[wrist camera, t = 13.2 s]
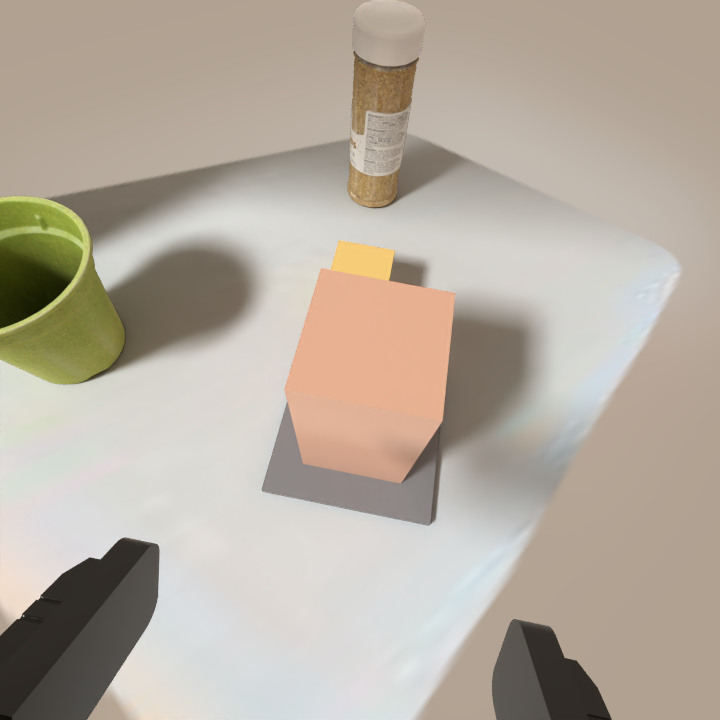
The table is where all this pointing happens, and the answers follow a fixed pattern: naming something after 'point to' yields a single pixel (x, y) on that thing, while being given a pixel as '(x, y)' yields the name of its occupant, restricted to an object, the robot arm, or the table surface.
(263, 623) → the table surface
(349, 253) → the ochre block
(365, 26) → the spice jar
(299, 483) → the gray mat
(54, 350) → the plant pot
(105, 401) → the table surface
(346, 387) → the tall peach pillar
